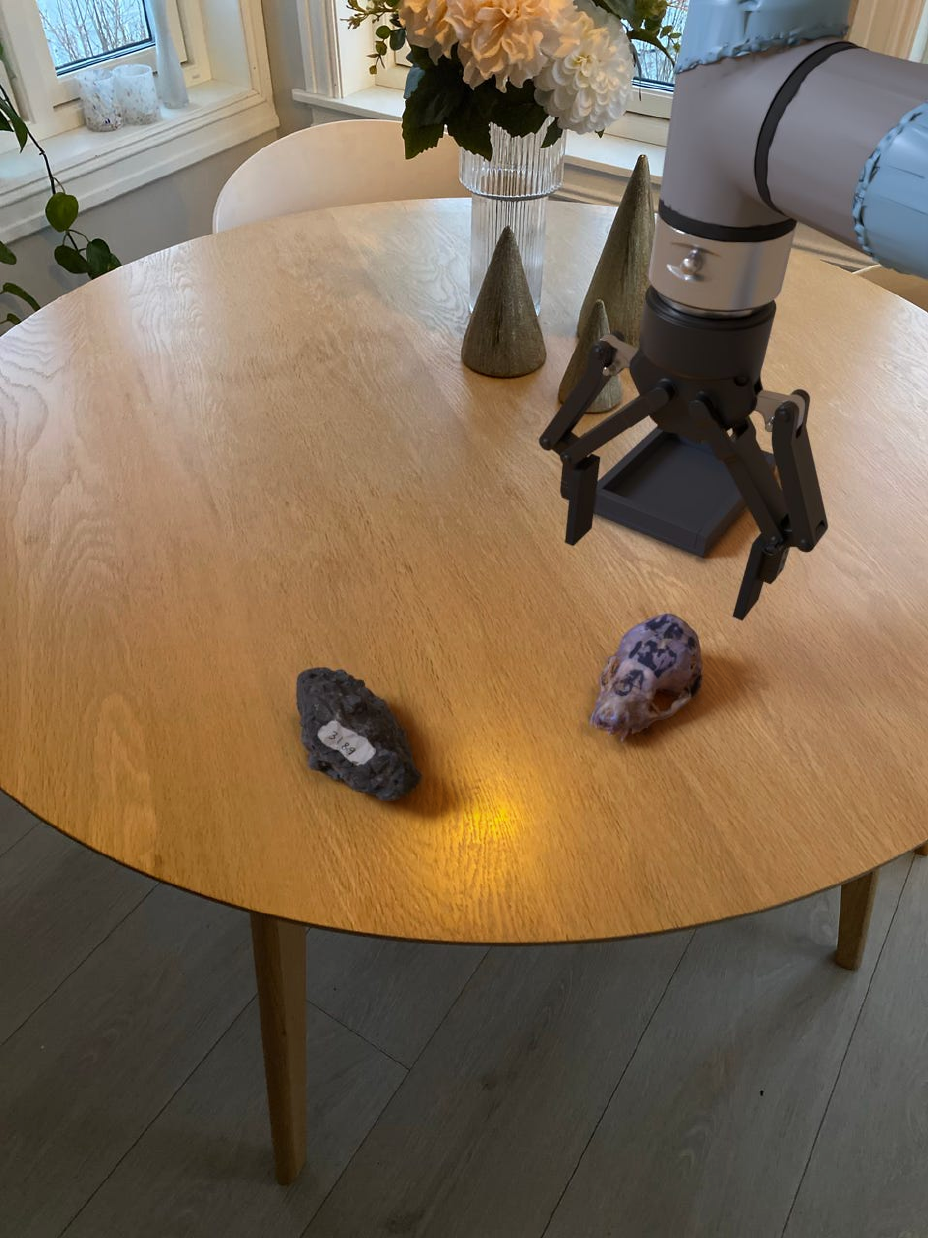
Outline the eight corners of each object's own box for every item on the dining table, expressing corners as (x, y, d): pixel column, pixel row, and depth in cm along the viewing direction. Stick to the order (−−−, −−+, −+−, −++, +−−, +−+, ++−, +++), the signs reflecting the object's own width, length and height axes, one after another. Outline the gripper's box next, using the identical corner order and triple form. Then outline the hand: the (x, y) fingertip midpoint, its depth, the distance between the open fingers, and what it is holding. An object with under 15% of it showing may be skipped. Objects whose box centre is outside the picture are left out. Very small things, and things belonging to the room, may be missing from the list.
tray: (773, 475, 102) (779, 455, 100) (702, 558, 92) (707, 537, 90) (663, 436, 108) (667, 416, 106) (586, 510, 97) (588, 489, 96)
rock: (245, 676, 73) (349, 634, 68) (314, 679, 80) (412, 641, 76) (278, 832, 70) (388, 799, 66) (346, 820, 77) (449, 789, 73)
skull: (629, 761, 73) (632, 700, 70) (554, 717, 78) (553, 657, 74) (719, 686, 80) (726, 627, 76) (645, 649, 85) (648, 592, 81)
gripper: (496, 258, 58) (488, 532, 73) (909, 383, 48) (802, 674, 62) (562, 219, 63) (542, 485, 77) (952, 326, 52) (843, 611, 67)
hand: (658, 570), depth 70 cm, fingers open, 13 cm apart
